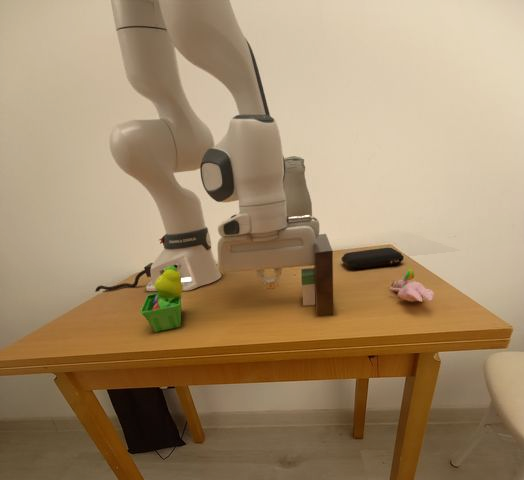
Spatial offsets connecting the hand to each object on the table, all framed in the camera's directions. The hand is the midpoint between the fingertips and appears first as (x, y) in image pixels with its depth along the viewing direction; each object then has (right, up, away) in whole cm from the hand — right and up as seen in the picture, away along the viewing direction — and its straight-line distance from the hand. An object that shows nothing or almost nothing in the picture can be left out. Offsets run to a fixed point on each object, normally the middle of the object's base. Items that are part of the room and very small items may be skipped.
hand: (271, 288), depth 64 cm
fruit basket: (-22, -7, +1) cm, 23 cm away
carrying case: (+28, +10, +17) cm, 34 cm away
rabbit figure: (+27, -4, -6) cm, 28 cm away
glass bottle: (+10, +15, +31) cm, 36 cm away
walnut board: (+11, -3, -1) cm, 11 cm away
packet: (+10, -2, -1) cm, 10 cm away
